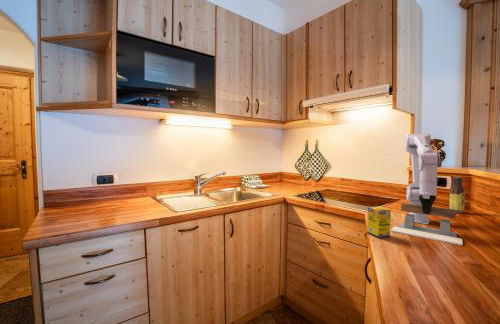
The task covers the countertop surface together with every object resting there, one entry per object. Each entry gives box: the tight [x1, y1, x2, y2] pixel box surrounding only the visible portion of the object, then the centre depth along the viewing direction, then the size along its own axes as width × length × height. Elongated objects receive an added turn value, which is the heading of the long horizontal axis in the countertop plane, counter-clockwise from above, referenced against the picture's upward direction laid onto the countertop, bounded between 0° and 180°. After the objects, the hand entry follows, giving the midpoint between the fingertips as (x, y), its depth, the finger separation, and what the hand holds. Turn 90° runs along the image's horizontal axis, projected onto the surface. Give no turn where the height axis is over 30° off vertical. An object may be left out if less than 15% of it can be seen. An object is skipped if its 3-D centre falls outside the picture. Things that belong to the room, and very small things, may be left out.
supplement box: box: [366, 206, 392, 239], centre depth 92 cm, size 6×6×11 cm
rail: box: [400, 202, 457, 219], centre depth 97 cm, size 3×18×3 cm, turn 49°
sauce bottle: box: [448, 176, 466, 215], centre depth 128 cm, size 6×6×20 cm
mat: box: [390, 225, 463, 247], centre depth 92 cm, size 7×22×1 cm, turn 49°
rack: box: [398, 213, 458, 238], centre depth 98 cm, size 6×19×6 cm, turn 49°
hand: (426, 213), depth 97 cm, fingers closed on rail, 3 cm apart
